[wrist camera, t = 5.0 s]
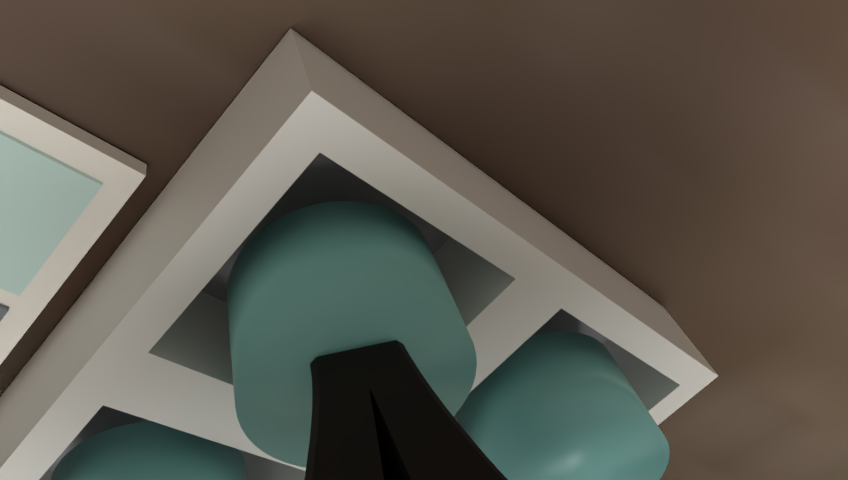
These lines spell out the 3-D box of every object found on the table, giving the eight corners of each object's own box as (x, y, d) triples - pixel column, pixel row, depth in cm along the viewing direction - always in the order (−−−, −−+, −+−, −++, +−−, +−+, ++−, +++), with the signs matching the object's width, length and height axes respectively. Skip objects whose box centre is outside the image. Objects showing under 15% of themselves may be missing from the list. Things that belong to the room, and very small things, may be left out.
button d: (347, 388, 15) (372, 491, 13) (182, 318, 13) (183, 429, 11) (474, 261, 14) (522, 354, 12) (317, 161, 12) (345, 254, 10)
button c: (529, 465, 18) (570, 556, 16) (423, 420, 16) (456, 518, 14) (642, 368, 17) (702, 453, 15) (545, 306, 15) (599, 396, 13)
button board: (366, 565, 22) (384, 647, 20) (-51, 461, 16) (-83, 570, 14) (662, 306, 19) (718, 375, 17) (291, 27, 12) (311, 90, 10)
